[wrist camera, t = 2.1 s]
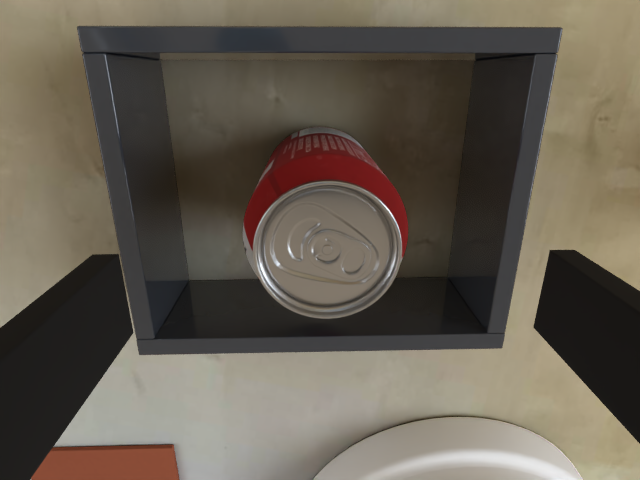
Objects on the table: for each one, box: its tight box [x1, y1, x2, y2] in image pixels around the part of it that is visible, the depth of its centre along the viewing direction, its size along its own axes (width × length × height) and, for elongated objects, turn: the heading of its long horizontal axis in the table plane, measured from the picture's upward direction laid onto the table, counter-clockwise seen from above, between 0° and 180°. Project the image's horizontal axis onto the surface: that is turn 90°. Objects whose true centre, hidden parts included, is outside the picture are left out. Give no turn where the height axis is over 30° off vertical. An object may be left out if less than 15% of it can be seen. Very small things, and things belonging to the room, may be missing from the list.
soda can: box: [243, 127, 408, 319], centre depth 21 cm, size 7×7×12 cm
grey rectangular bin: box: [77, 26, 562, 355], centre depth 23 cm, size 16×20×7 cm
